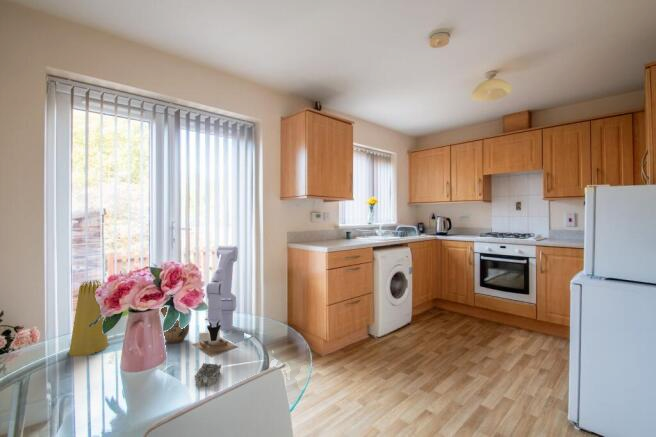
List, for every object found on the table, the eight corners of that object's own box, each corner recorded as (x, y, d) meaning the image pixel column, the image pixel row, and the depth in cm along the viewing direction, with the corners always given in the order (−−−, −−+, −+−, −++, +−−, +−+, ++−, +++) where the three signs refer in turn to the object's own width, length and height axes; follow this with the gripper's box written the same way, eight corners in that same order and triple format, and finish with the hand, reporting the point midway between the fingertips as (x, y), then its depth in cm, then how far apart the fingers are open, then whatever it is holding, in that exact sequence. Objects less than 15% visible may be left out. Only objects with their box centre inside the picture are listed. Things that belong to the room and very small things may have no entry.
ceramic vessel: (196, 338, 142) (197, 287, 142) (188, 346, 133) (190, 292, 133) (162, 338, 141) (163, 286, 141) (151, 346, 132) (153, 291, 132)
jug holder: (191, 345, 134) (191, 340, 134) (217, 337, 144) (217, 332, 144) (211, 358, 122) (211, 353, 122) (238, 348, 133) (238, 343, 132)
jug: (219, 342, 137) (219, 327, 137) (219, 346, 132) (219, 331, 132) (199, 344, 134) (199, 329, 134) (198, 349, 129) (198, 333, 129)
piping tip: (115, 345, 132) (116, 279, 131) (79, 358, 119) (80, 286, 119) (98, 339, 137) (99, 276, 137) (61, 351, 125) (63, 282, 125)
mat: (222, 337, 143) (222, 336, 143) (241, 331, 152) (241, 330, 152) (234, 344, 136) (234, 343, 136) (254, 337, 145) (254, 336, 145)
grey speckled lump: (213, 387, 102) (214, 376, 102) (192, 388, 102) (192, 376, 102) (222, 371, 113) (223, 361, 113) (203, 371, 113) (203, 361, 113)
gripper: (205, 304, 139) (205, 332, 139) (204, 313, 126) (203, 345, 126) (221, 302, 142) (220, 330, 142) (221, 312, 128) (220, 342, 128)
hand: (213, 337), depth 134 cm, fingers open, 7 cm apart
